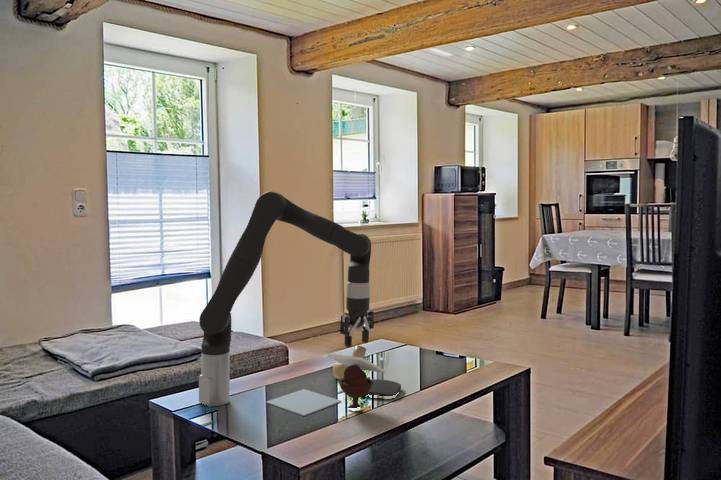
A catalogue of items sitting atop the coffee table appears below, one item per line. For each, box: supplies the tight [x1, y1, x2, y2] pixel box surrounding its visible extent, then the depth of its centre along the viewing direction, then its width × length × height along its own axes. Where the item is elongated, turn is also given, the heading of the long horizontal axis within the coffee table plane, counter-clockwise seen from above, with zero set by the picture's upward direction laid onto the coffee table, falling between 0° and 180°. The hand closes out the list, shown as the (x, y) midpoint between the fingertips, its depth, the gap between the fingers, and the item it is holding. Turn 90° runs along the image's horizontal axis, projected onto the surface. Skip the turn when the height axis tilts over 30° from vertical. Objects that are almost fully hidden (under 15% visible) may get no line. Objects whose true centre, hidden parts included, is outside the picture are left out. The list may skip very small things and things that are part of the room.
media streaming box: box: [364, 378, 402, 396], centre depth 219 cm, size 15×15×3 cm
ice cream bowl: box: [338, 365, 373, 408], centre depth 200 cm, size 11×11×15 cm
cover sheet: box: [327, 345, 386, 374], centre depth 201 cm, size 14×14×6 cm
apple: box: [332, 361, 348, 381], centre depth 233 cm, size 8×8×8 cm
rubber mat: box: [265, 388, 342, 417], centre depth 206 cm, size 18×18×1 cm
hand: (356, 344), depth 199 cm, fingers open, 8 cm apart
